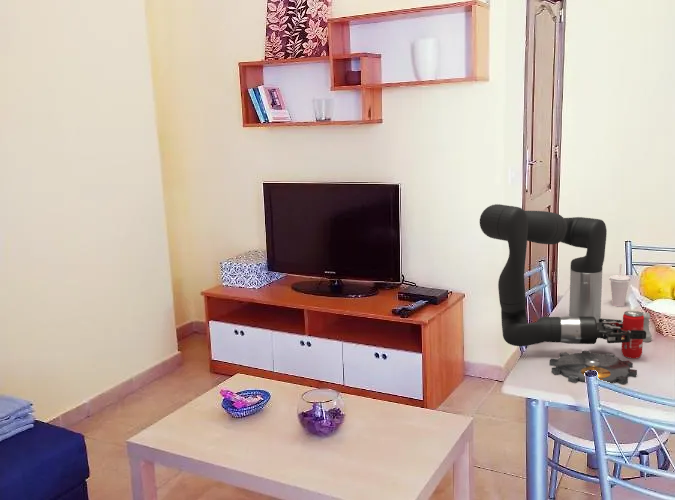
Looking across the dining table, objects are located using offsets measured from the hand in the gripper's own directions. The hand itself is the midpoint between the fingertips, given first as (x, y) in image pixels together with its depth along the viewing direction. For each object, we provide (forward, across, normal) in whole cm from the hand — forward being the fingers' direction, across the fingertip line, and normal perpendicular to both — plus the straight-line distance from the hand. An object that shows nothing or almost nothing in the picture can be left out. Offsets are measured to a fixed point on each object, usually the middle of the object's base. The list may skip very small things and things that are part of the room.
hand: (642, 331), depth 183 cm
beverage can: (-3, 0, +7) cm, 8 cm away
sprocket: (-15, -11, +7) cm, 20 cm away
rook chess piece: (+3, +13, +7) cm, 15 cm away
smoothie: (+3, +47, +7) cm, 48 cm away
